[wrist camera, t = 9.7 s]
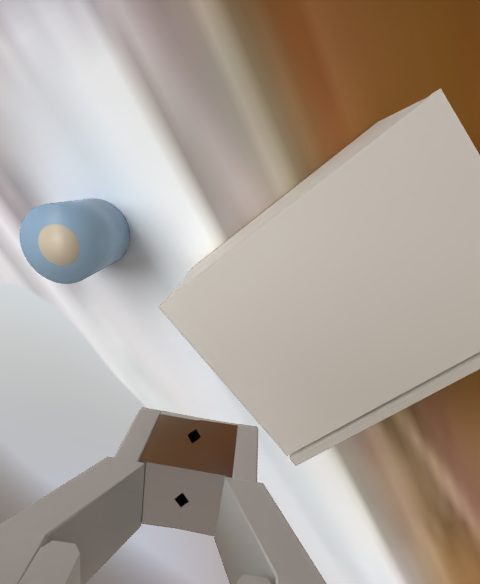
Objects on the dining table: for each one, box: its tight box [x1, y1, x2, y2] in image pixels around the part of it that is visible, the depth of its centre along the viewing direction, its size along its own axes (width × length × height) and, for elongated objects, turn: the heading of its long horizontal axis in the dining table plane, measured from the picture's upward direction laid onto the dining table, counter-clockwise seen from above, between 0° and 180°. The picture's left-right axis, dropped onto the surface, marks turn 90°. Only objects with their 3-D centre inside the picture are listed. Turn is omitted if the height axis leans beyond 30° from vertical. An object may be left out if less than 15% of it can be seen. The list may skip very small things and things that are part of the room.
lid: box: [159, 88, 480, 466], centre depth 18 cm, size 13×17×2 cm
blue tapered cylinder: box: [20, 199, 130, 284], centre depth 23 cm, size 5×5×5 cm
